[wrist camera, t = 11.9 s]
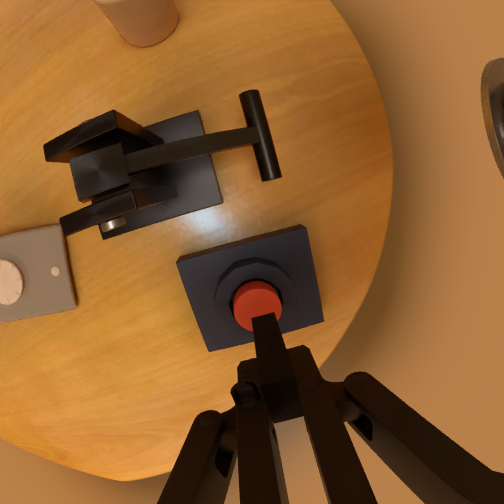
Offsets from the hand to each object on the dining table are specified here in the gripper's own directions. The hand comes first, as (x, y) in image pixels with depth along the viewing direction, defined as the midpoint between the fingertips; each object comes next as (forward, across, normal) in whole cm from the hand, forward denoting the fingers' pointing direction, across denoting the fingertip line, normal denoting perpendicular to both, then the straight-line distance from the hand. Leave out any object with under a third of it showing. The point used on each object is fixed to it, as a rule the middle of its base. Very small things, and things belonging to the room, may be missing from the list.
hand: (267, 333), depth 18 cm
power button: (+5, 0, 0) cm, 5 cm away
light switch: (+8, -23, +8) cm, 26 cm away
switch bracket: (+8, -6, +12) cm, 16 cm away
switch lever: (+1, -3, +12) cm, 12 cm away
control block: (+8, 0, 0) cm, 8 cm away
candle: (+8, -3, +27) cm, 28 cm away
